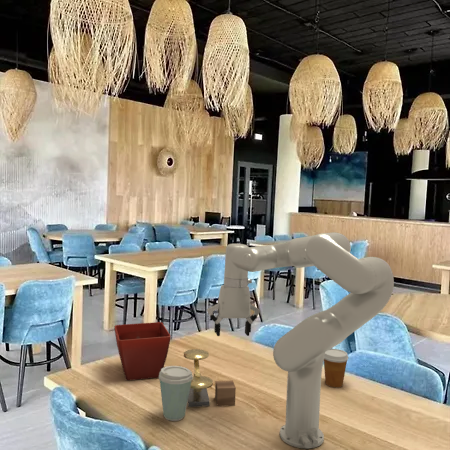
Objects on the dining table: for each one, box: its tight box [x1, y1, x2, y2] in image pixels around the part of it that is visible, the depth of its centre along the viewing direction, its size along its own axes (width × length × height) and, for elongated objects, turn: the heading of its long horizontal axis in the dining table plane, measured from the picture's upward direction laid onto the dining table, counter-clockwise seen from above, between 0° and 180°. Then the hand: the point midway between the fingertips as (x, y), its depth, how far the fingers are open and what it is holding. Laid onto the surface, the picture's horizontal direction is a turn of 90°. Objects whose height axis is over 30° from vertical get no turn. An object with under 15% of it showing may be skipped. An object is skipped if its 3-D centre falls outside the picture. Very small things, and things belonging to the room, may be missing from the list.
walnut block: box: [214, 379, 237, 407], centre depth 149 cm, size 6×6×6 cm
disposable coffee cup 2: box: [323, 348, 349, 388], centre depth 166 cm, size 10×10×12 cm
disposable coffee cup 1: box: [158, 365, 194, 422], centre depth 138 cm, size 11×11×15 cm
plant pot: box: [114, 321, 171, 381], centre depth 170 cm, size 19×19×17 cm
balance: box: [183, 348, 214, 408], centre depth 154 cm, size 23×9×12 cm, turn 8°
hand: (232, 334), depth 143 cm, fingers open, 9 cm apart
